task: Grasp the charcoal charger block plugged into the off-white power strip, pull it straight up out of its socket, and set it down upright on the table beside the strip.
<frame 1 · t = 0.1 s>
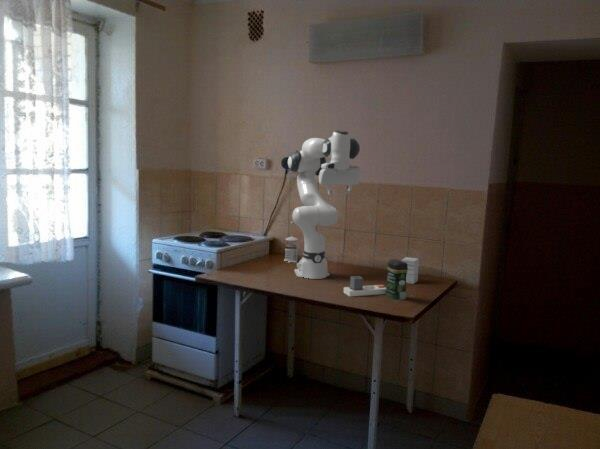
hand: (338, 194, 233), 48 cm above the table, fingers open, 8 cm apart
power strip: (365, 295, 235), on the table
supplement box: (409, 281, 263), on the table
charger: (356, 293, 233), point 1 cm above the table, touching power strip
coffee jar: (395, 299, 230), on the table
french press: (292, 261, 305), on the table
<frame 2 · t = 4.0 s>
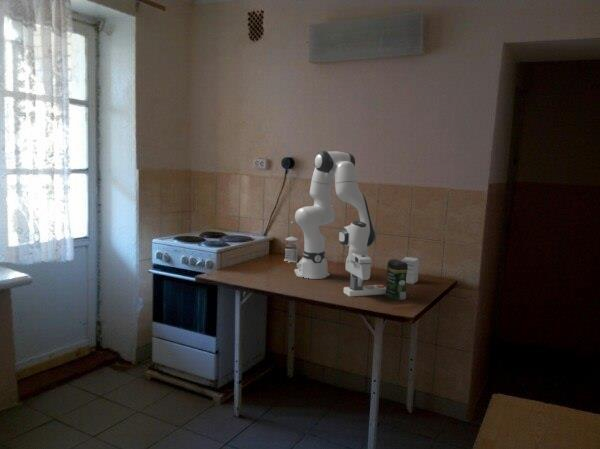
hand: (356, 284, 232), 6 cm above the table, fingers closed on charger, 4 cm apart
charger: (356, 293, 233), point 1 cm above the table, touching gripper, power strip
everything else where it was.
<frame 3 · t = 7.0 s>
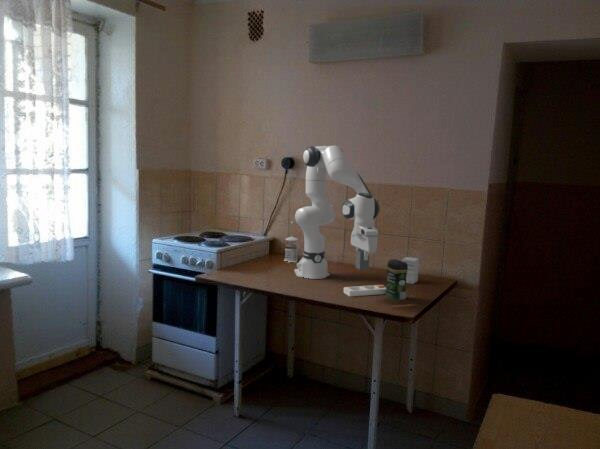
hand: (362, 258, 223), 20 cm above the table, fingers closed on charger, 4 cm apart
charger: (361, 268, 224), point 15 cm above the table, touching gripper
everything else where it was.
when the fingers open (6 cm above the table, at t = 10.2 s): charger drops 2 cm, on the table.
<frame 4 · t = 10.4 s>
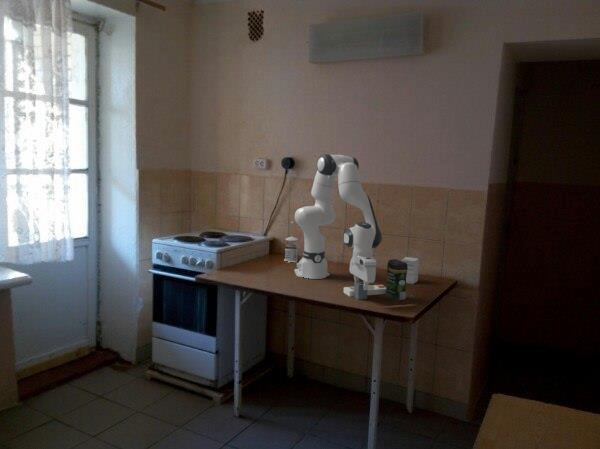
hand: (360, 287, 225), 6 cm above the table, fingers open, 7 cm apart
charger: (360, 300, 226), on the table
everything else where it was.
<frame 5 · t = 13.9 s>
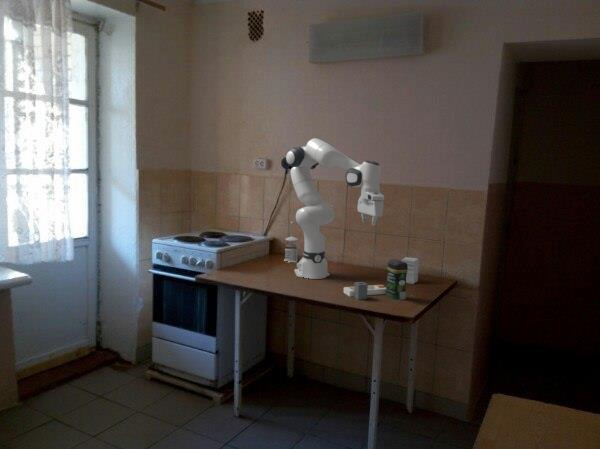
hand: (368, 223, 234), 34 cm above the table, fingers open, 8 cm apart
nothing on the table moved.
at the end: charger inside the target area (0.1 cm from its centre), on the table; charger tilted 0°; the gripper is holding nothing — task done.
